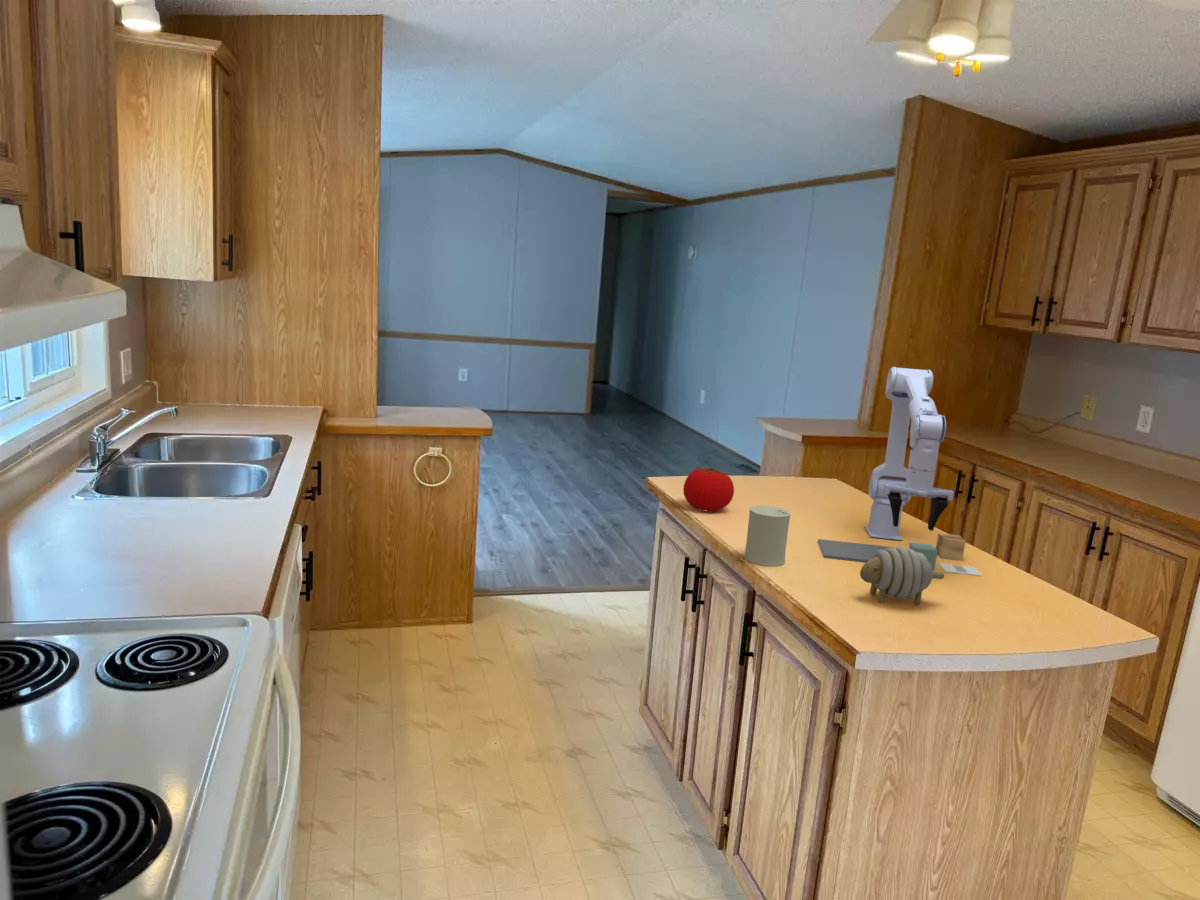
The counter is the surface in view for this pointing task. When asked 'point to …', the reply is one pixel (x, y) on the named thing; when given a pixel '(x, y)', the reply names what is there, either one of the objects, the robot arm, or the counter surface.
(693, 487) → the tomato
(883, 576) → the toy sheep
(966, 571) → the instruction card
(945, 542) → the brown wooden cube
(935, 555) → the teal block
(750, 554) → the can
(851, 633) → the counter surface
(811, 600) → the counter surface
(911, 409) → the robot arm
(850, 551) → the baseplate
